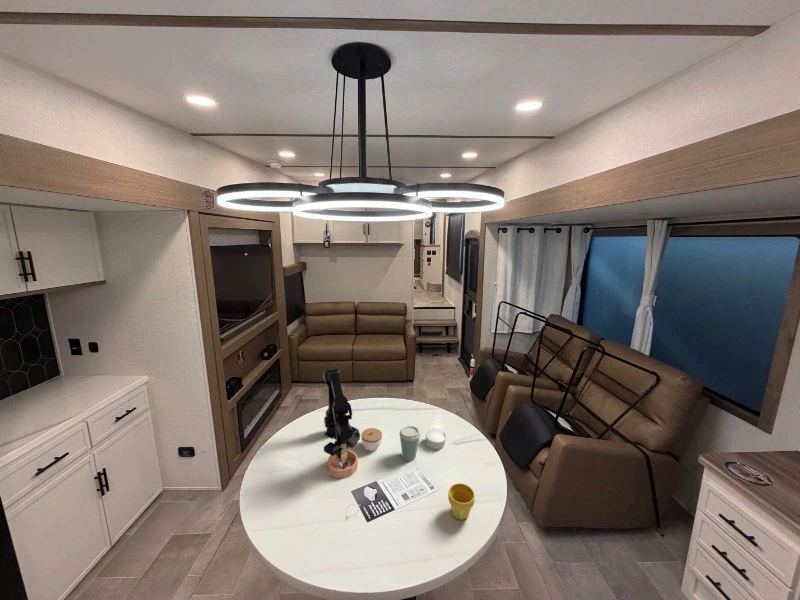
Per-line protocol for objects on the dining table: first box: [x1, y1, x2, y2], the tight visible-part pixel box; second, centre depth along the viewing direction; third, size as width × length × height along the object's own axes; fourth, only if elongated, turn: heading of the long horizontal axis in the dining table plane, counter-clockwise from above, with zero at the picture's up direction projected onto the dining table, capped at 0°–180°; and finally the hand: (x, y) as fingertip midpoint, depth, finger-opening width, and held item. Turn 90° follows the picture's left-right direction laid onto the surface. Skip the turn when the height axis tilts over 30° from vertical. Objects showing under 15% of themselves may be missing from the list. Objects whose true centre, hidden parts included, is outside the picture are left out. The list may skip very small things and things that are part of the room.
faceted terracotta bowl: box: [326, 449, 359, 479], centre depth 152 cm, size 14×14×4 cm
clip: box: [337, 460, 348, 469], centre depth 152 cm, size 4×3×3 cm
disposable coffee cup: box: [399, 425, 422, 462], centre depth 159 cm, size 11×11×15 cm
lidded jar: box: [360, 427, 383, 452], centre depth 165 cm, size 11×11×9 cm
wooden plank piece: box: [338, 443, 347, 463], centre depth 150 cm, size 2×4×8 cm, turn 148°
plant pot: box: [447, 482, 476, 520], centre depth 128 cm, size 10×10×10 cm
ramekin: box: [424, 428, 448, 450], centre depth 169 cm, size 11×11×5 cm
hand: (342, 455), depth 151 cm, fingers closed on wooden plank piece, 4 cm apart
